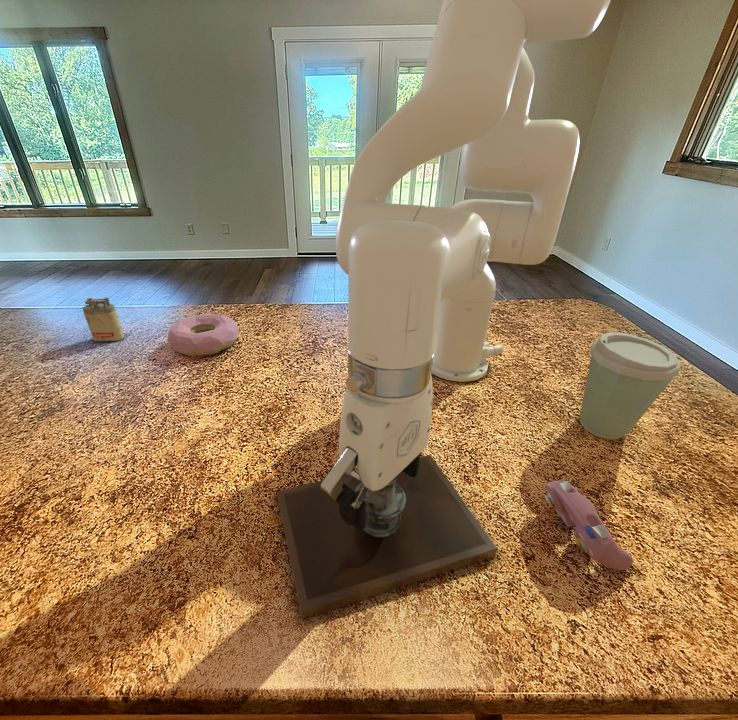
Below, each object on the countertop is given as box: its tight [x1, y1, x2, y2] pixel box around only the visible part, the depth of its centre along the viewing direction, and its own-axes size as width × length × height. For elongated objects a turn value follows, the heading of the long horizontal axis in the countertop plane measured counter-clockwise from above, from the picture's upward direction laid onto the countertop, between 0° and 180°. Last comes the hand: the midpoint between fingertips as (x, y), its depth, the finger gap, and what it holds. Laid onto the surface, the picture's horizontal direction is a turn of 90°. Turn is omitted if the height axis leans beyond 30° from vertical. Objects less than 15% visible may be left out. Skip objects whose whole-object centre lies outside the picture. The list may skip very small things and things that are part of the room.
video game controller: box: [544, 480, 634, 571], centre depth 43 cm, size 10×5×7 cm, turn 5°
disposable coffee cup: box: [578, 331, 681, 440], centre depth 57 cm, size 11×11×15 cm
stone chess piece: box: [355, 475, 406, 537], centre depth 42 cm, size 6×6×12 cm
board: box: [276, 454, 498, 620], centre depth 45 cm, size 22×15×2 cm
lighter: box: [82, 297, 126, 342], centre depth 88 cm, size 7×4×10 cm, turn 91°
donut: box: [166, 312, 239, 357], centre depth 86 cm, size 16×15×5 cm
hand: (380, 494), depth 43 cm, fingers open, 9 cm apart
